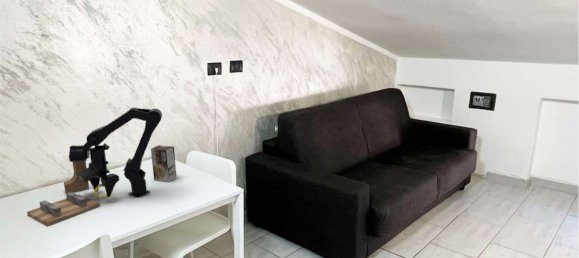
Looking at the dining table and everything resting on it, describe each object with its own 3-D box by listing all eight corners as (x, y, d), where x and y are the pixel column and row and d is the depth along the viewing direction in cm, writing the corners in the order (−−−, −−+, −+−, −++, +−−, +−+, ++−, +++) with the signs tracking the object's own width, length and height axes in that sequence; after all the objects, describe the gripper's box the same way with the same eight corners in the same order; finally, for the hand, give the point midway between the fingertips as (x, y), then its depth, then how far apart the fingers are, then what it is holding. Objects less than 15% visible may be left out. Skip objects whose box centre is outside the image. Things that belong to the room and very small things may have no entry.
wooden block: (67, 194, 167) (61, 155, 163) (64, 191, 170) (59, 152, 166) (89, 188, 173) (84, 151, 169) (86, 186, 176) (81, 148, 172)
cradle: (100, 206, 155) (98, 196, 154) (47, 226, 139) (46, 215, 138) (79, 197, 163) (77, 187, 162) (27, 215, 147) (25, 204, 146)
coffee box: (177, 177, 186) (174, 146, 183) (169, 182, 180) (166, 150, 177) (161, 175, 189) (159, 144, 185) (153, 180, 183) (150, 148, 180)
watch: (108, 195, 167) (107, 182, 166) (111, 196, 165) (110, 183, 164) (94, 198, 163) (93, 184, 162) (96, 200, 161) (96, 186, 160)
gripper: (67, 161, 159) (72, 195, 162) (92, 169, 149) (96, 206, 152) (93, 154, 168) (97, 187, 171) (118, 161, 158) (122, 196, 161)
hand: (102, 194), depth 164 cm, fingers open, 9 cm apart
